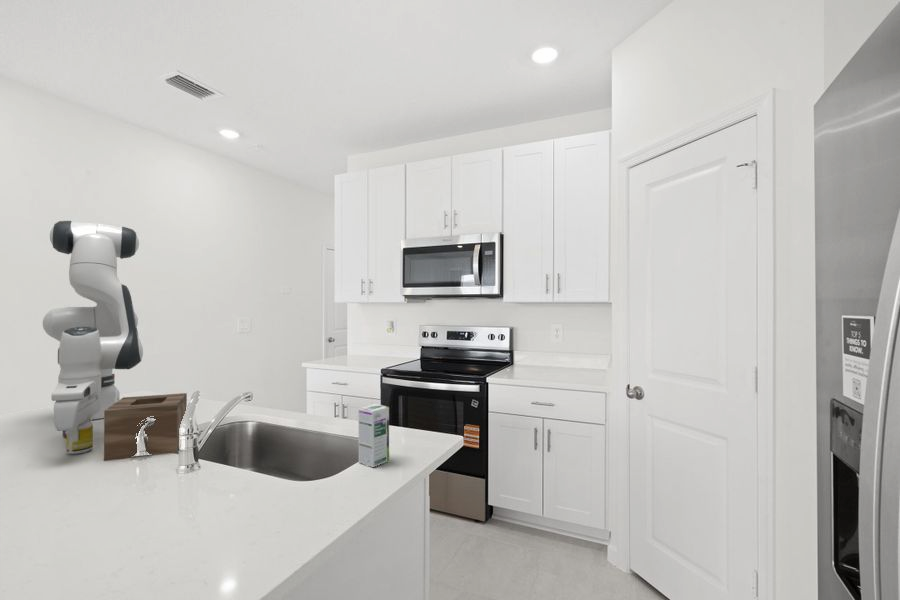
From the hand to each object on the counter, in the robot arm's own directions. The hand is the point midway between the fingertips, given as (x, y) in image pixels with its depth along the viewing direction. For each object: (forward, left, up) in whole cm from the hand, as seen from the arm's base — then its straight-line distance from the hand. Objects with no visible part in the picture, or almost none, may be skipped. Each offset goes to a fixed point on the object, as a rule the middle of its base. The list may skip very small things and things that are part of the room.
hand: (79, 437), depth 115 cm
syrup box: (+38, +72, -4) cm, 82 cm away
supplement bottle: (0, 0, -4) cm, 4 cm away
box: (+2, +16, -4) cm, 17 cm away
